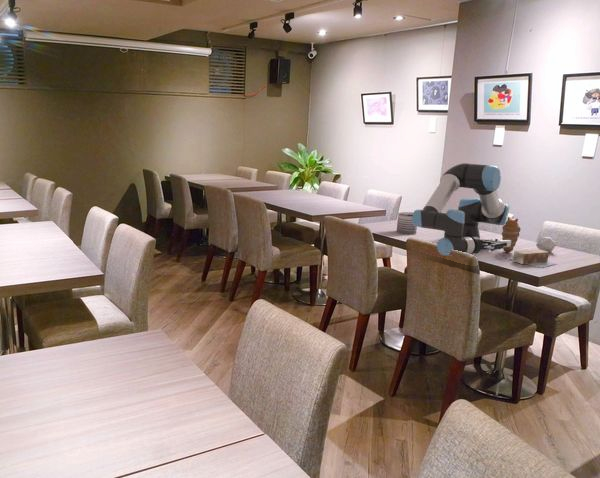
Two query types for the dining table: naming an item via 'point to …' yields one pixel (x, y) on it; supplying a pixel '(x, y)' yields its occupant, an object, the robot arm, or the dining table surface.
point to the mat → (537, 263)
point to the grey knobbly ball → (546, 244)
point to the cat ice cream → (510, 233)
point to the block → (530, 256)
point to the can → (406, 223)
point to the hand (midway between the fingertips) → (509, 243)
